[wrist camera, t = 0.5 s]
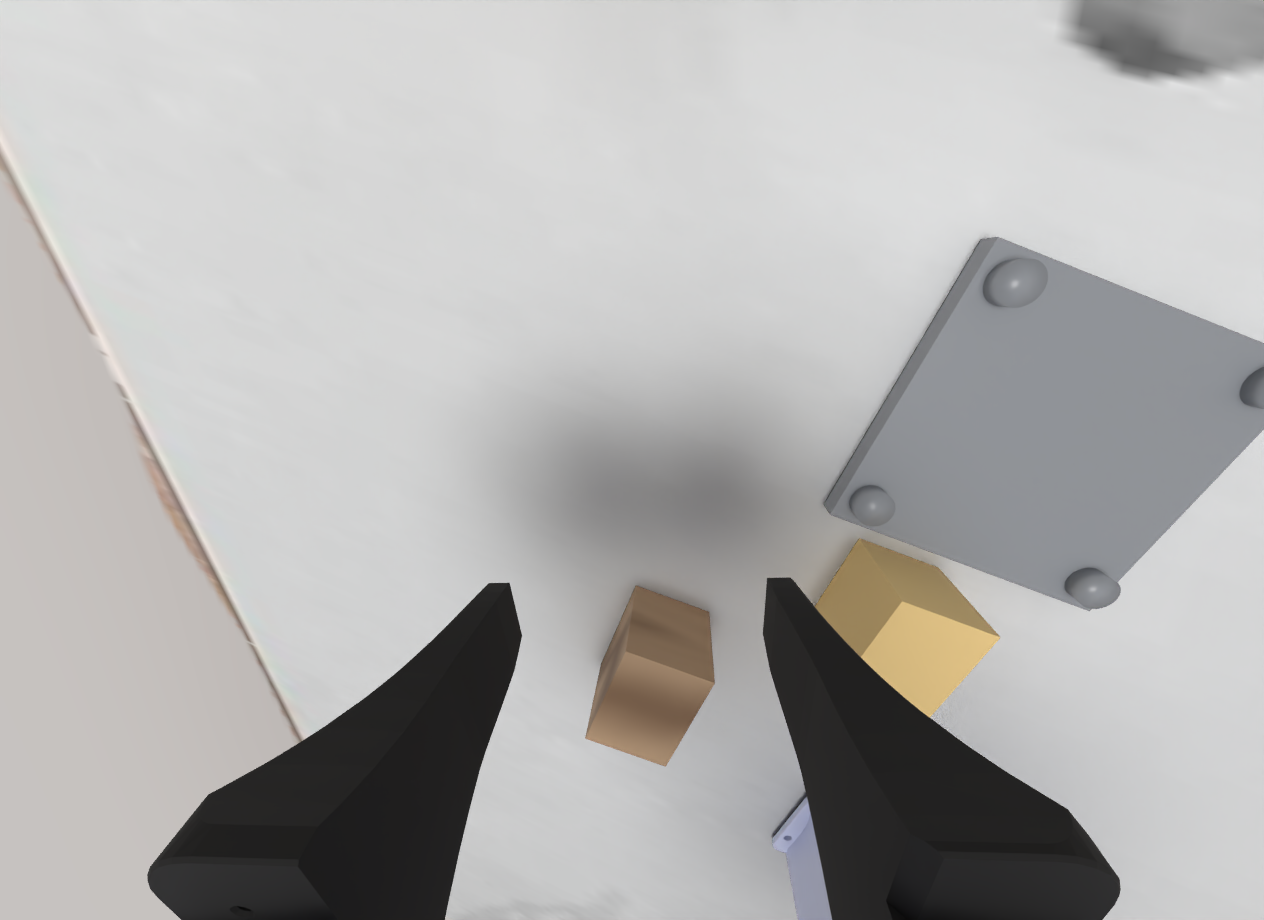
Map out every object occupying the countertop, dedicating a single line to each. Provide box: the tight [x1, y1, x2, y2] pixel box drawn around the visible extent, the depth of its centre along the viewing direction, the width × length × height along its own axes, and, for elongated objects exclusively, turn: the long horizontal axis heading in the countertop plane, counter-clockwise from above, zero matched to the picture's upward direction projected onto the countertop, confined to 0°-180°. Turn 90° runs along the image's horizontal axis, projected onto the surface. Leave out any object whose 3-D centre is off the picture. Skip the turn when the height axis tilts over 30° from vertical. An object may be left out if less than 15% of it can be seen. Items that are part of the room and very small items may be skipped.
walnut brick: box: [585, 586, 715, 766], centre depth 24 cm, size 6×4×5 cm
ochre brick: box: [815, 538, 1000, 718], centre depth 21 cm, size 6×4×5 cm
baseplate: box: [824, 237, 1264, 611], centre depth 19 cm, size 12×13×2 cm
